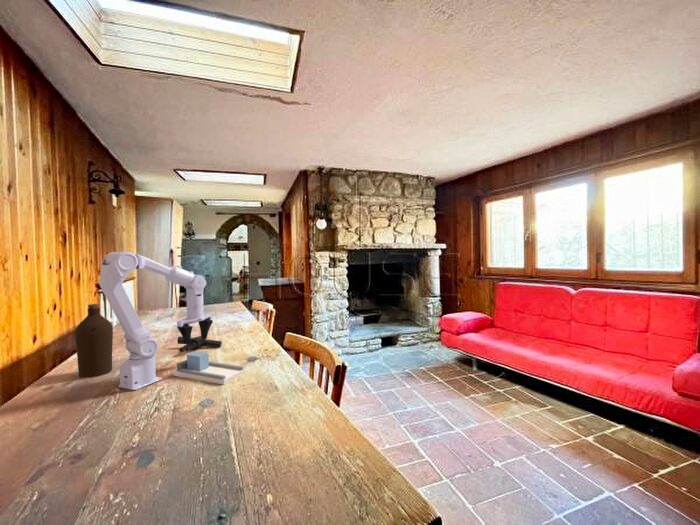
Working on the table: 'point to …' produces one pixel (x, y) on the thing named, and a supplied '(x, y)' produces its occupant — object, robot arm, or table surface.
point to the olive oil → (94, 344)
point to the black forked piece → (198, 343)
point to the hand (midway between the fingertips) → (196, 341)
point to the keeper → (197, 361)
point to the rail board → (211, 372)
